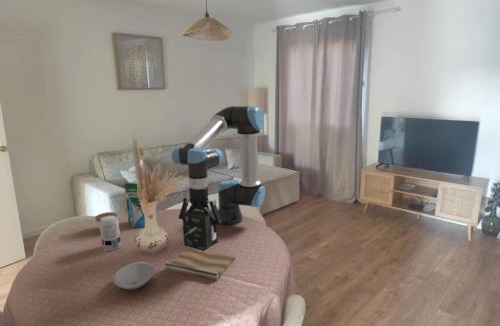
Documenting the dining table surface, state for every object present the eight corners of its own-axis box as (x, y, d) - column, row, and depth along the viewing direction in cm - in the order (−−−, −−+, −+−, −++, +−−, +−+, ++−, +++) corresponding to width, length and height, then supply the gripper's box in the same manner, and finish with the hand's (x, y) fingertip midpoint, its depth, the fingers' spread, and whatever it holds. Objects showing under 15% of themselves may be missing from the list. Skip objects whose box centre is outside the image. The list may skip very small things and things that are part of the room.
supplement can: (98, 250, 157) (95, 220, 153) (111, 242, 164) (108, 214, 161) (112, 253, 154) (108, 222, 150) (124, 245, 161) (121, 216, 158)
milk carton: (151, 220, 190) (147, 178, 185) (144, 227, 182) (140, 183, 176) (136, 220, 191) (132, 178, 186) (128, 226, 183) (124, 183, 177)
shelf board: (188, 250, 155) (187, 243, 155) (235, 259, 147) (235, 252, 146) (165, 269, 139) (164, 262, 138) (216, 280, 130) (216, 273, 130)
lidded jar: (103, 224, 186) (102, 209, 184) (121, 225, 184) (120, 209, 182) (92, 232, 175) (90, 216, 173) (111, 233, 174) (109, 217, 172)
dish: (124, 273, 137) (123, 262, 136) (159, 272, 137) (158, 261, 136) (107, 300, 119) (106, 287, 118) (147, 299, 120) (146, 286, 119)
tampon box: (218, 242, 140) (217, 210, 137) (204, 251, 133) (202, 217, 129) (198, 237, 146) (196, 205, 143) (183, 245, 138) (181, 212, 135)
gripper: (167, 186, 135) (171, 236, 139) (221, 192, 126) (222, 245, 131) (178, 181, 141) (181, 229, 146) (229, 187, 133) (230, 237, 138)
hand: (200, 236), depth 139 cm, fingers closed on tampon box, 12 cm apart
